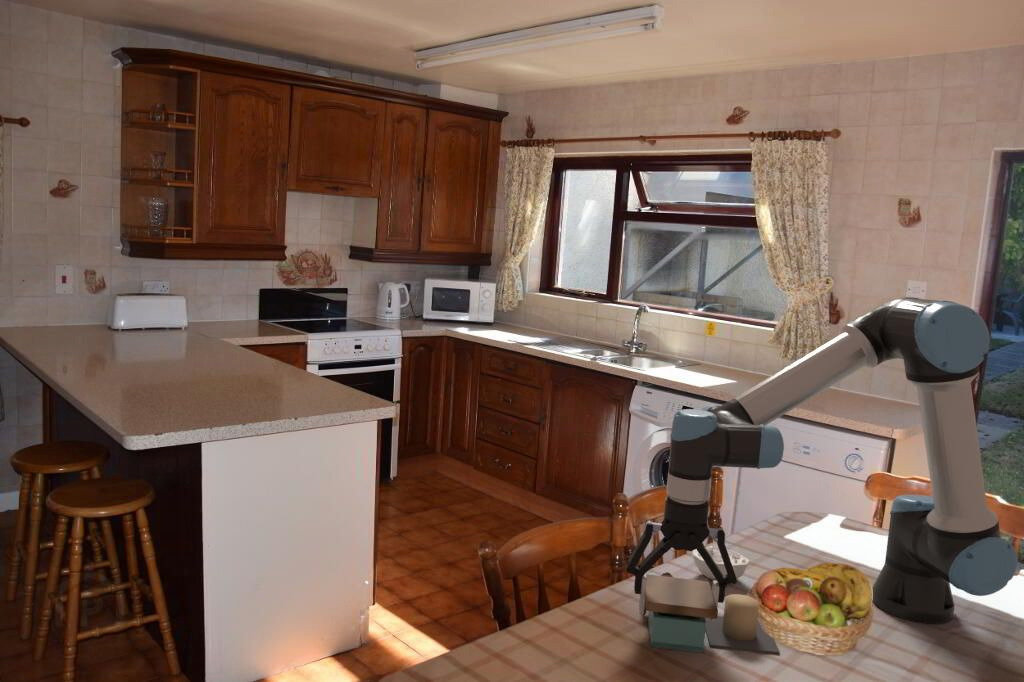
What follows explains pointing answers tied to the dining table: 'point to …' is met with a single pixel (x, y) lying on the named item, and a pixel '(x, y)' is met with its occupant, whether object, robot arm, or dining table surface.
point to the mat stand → (740, 627)
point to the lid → (680, 596)
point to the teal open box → (676, 631)
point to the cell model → (721, 562)
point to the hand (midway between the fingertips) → (676, 614)
